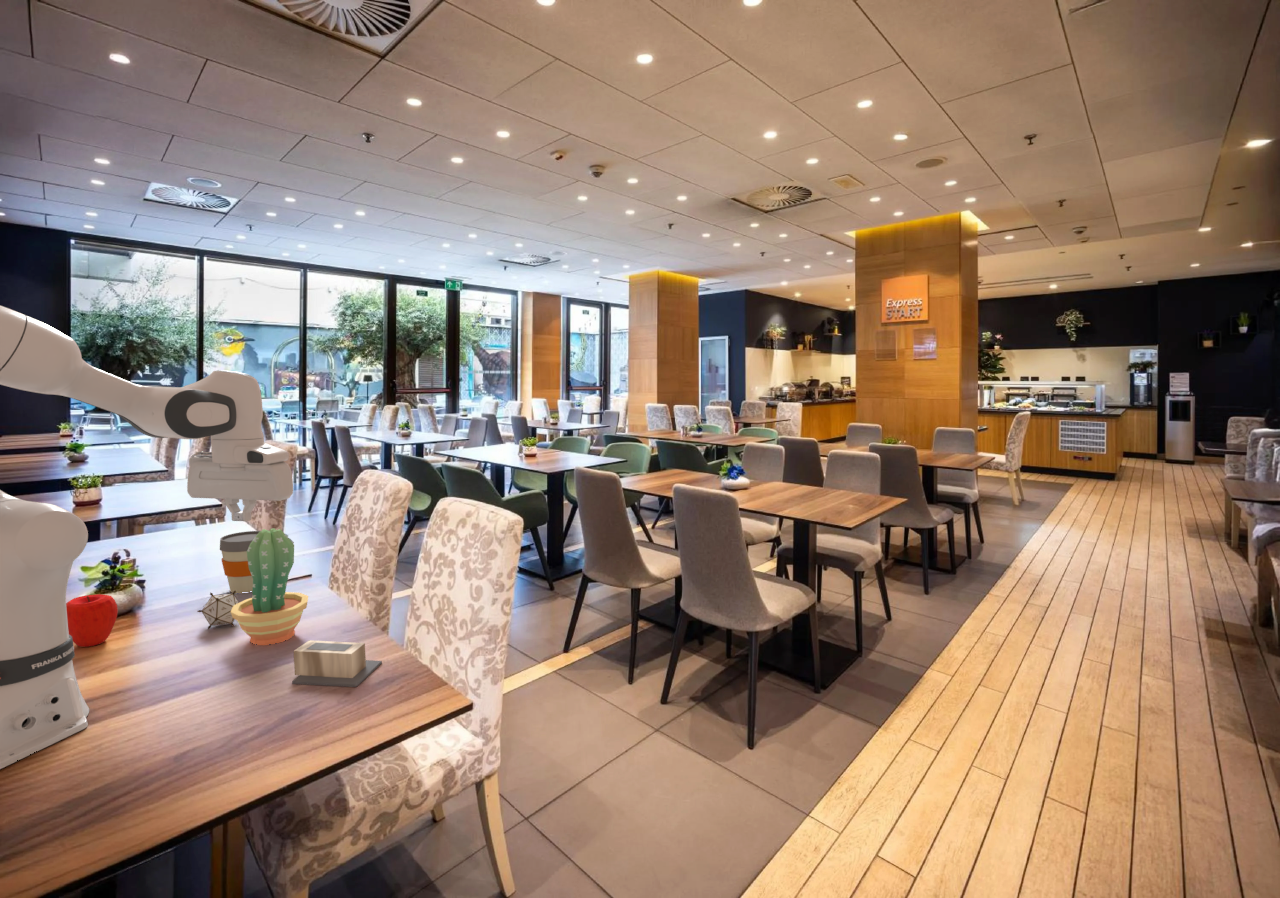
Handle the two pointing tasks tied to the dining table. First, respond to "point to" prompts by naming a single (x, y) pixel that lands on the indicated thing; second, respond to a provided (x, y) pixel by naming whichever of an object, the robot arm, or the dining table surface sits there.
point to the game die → (219, 609)
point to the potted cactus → (270, 591)
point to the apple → (91, 619)
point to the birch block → (329, 659)
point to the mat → (338, 681)
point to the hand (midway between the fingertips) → (241, 520)
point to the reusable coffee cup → (237, 560)
